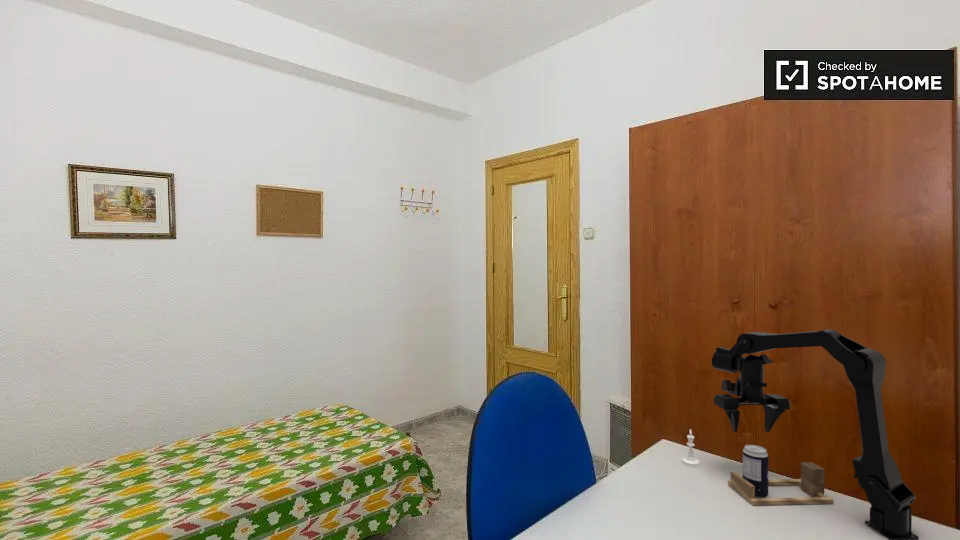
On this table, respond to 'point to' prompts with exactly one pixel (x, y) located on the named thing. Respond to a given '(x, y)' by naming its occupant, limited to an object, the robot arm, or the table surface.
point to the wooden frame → (809, 483)
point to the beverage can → (756, 468)
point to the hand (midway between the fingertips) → (750, 431)
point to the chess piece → (690, 453)
